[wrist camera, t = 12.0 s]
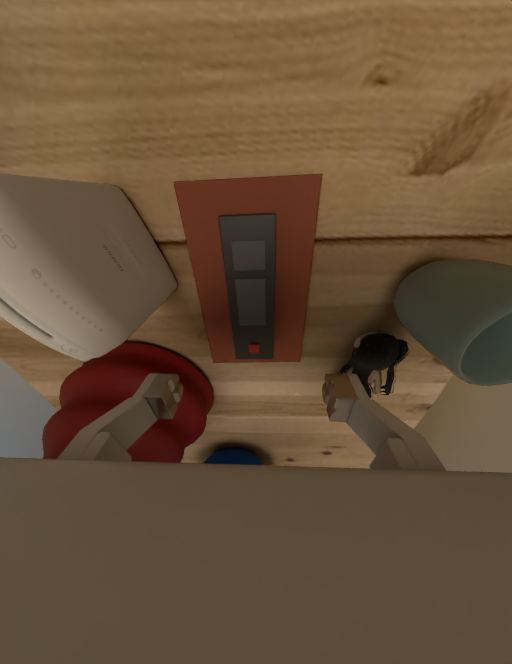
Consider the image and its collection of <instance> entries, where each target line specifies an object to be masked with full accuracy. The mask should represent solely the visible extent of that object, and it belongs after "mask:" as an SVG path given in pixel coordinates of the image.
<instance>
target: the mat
mask: <svg viewBox="0 0 512 664" xmlns="http://www.w3.org/2000/svg"><path fill="white" fill-rule="evenodd" d="M321 181H322V174H311V175H292V176H273V177H254V178H235V179H216V180H197V181H179V182H174V186H175V191H176V195H177V200H178V204H179V209H180V213H181V218H182V222H183V227H184V232H185V236H186V241H187V245H188V250H189V254H190V259H191V263H192V268H193V272H194V277H195V281H196V286H197V290H198V295H199V299H200V304H201V308H202V313H203V317H204V322H205V327H206V331H207V336H208V340H209V345H210V349H211V354H212V358H213V363H237V362H300V356H301V348H302V340H303V331H304V323H305V315H306V306H307V298H308V290H309V281H310V273H311V265H312V256H313V248H314V240H315V231H316V223H317V215H318V206H319V198H320V190H321ZM253 213H275V214H276V264H275V315H274V358H273V359H236V356H235V348H234V340H233V332H232V324H231V316H230V308H229V301H228V293H227V285H226V277H225V269H224V261H223V253H222V245H221V238H220V230H219V222H218V216H221V215H229V214H253Z"/></svg>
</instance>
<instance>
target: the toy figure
mask: <svg viewBox="0 0 512 664" xmlns="http://www.w3.org/2000/svg"><path fill="white" fill-rule="evenodd" d="M408 344H409V343H408ZM410 346H411V345H410ZM354 347H355V350H356V352H355V354H354V352H353V354H354V355H353V354H352V358H351V360H350V361H349V362H348V363H349V364H348V363H347V365H346V364H345V365H344V366H343V367H342V368H341V370H340V371H339V372H340V374H343V372H344V371H346V370H347V371H346V372H345V373H344V374H356V375H357V376H358V378H359V380H360V381H361V383H362V385H363V387H364V389H365V391H366V393H367V394H368V396H369V398H371V389H372V392H373V394H377V396H380V395H381V394H382V393H381V392H385V393H386V394H382V395H389V393H392V392H390V391H391V387H392V383H393V380H394V366H395V365H396V364H397V363H398V362H399V363H400V362H401V361H402V360H403V359H404V358H405V357H406V356H407V355H408V354H407V355H406V353H407V352H408V345H407V342H406V341H403V340H401V339H396V338H395V337H394V336H393V335H389V334H386V333H379V332H369V333H365V334H363V335H361V336H360V337H358V338H357V339H356V340H355V342H354ZM355 350H354V351H355ZM405 355H406V356H405ZM404 356H405V357H404ZM399 363H398V364H399ZM398 364H397V365H398ZM397 365H396V366H397ZM388 367H389V369H388V371H387V379H386V384H385V386H382V387H381V385H382V379H381V371H382V370H384V369H386V368H388ZM395 371H396V368H395ZM373 382H374V383H375V387H373V388H372V387H371V384H372V383H373ZM394 383H395V382H394ZM369 386H370V387H371V389H370V387H369ZM381 388H382V389H385V391H381V390H380V389H381ZM393 390H394V385H393ZM372 396H373V395H372Z"/></svg>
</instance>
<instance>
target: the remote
mask: <svg viewBox="0 0 512 664" xmlns="http://www.w3.org/2000/svg"><path fill="white" fill-rule="evenodd" d="M218 222H219V230H220V238H221V245H222V253H223V261H224V269H225V277H226V285H227V293H228V301H229V308H230V316H231V324H232V332H233V340H234V348H235V356H236V359H273V358H274V315H275V264H276V214H275V213H253V214H229V215H221V216H218Z"/></svg>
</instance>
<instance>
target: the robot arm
mask: <svg viewBox="0 0 512 664" xmlns="http://www.w3.org/2000/svg"><path fill="white" fill-rule="evenodd" d="M179 379H180V378H179V375H178V374H167V373H150V374H149V375H147V377H146V378H145V380H144V381H143V383H142V384H141V386H140V387H139V388H138V390H137V391H136V393H135V394H134V396H133V397H130V398H128V399H127V400H125V401H124V402H122V403H120V404H119V405H117V406H116V407H114V408H113V409H111V410H110V411H108V412H107V413H105V414H104V415H102V416H101V417H99V418H98V419H96V420H95V421H93V422H92V423H90V424H89V425H87V426H86V427H84V428H83V429H81V430H80V431H79V432H78V434H77V435H76V436H75V437H74V439H73V440H72V441H71V442H70V443H69V445H68V446H67V447H66V448H65V450H64V451H63V452H62V453H61V454H60V456H59V457H58V458H57V459H36V458H34V459H33V458H2V457H0V664H512V473H498V472H465V471H464V472H463V471H446V469H445V468H444V466H443V465H442V463H441V462H440V460H439V459H438V457H437V456H436V454H435V453H434V452H433V450H432V448H431V447H430V445H429V444H428V443H427V441H426V440H425V438H424V437H423V436H421V435H420V434H419V433H417V432H416V431H415V430H413V429H412V428H411V427H409V426H408V425H407V424H405V423H404V422H403V421H401V420H400V419H398V418H397V417H396V416H394V415H393V414H392V413H390V412H389V411H388V410H386V409H385V408H384V407H382V406H381V405H380V404H378V403H377V402H376V401H374V400H370V398H369V396H368V394H367V393H366V391H365V389H364V387H363V385H362V383H361V381H360V380H359V378H358V376H357V375H356V374H326V375H325V378H324V379H325V383H324V384H323V387H322V395H323V400H324V402H325V403H326V404H327V409H326V410H327V414H328V417H329V420H330V421H337V422H347V424H348V425H349V426H350V427H351V428H352V429H353V430H354V431H355V432H356V434H357V435H358V436H359V437H360V438H361V439H362V440H363V441H364V442H365V443H366V445H367V446H368V447H369V448H370V449H371V450H372V451H373V452H374V453H375V454H376V457H375V458H374V460H373V461H372V463H371V464H370V468H371V469H366V468H333V467H301V466H268V465H235V464H203V463H169V462H136V461H131V460H132V457H131V455H130V454H129V453H128V452H127V451H126V450H127V449H128V448H129V447H130V446H131V445H132V444H133V443H134V442H135V441H136V440H137V439H138V438H139V437H140V436H141V435H142V434H143V433H144V432H145V431H146V430H147V429H148V428H150V427H151V426H152V425H153V424H154V423H155V422H156V421H157V419H173V417H174V415H175V412H176V410H177V408H178V407H177V403H178V402H179V401H181V398H182V396H183V385H182V383H180V382H179Z"/></svg>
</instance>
